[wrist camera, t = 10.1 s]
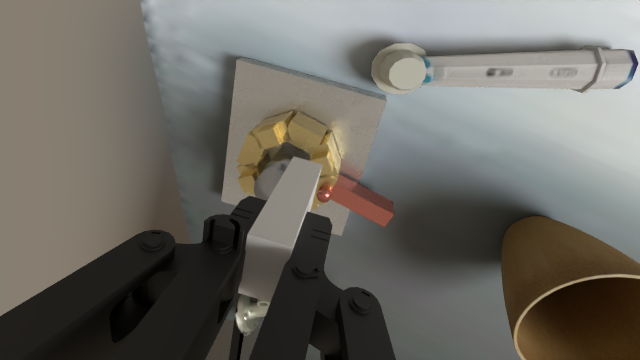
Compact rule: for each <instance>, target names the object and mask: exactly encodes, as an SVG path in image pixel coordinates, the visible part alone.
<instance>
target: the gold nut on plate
mask: <svg viewBox="0 0 640 360" xmlns="http://www.w3.org/2000/svg"><path fill="white" fill-rule="evenodd" d="M386 101H387V100H386V96H384V95H380V94H377V93H373V92H369V91H366V90H362V89H358V88H355V87H351V86H347V85H344V84H340V83H337V82H333V81H329V80H326V79H322V78H318V77H315V76H311V75H308V74H304V73H300V72H297V71H293V70H289V69H286V68H282V67H279V66H275V65H271V64H268V63H264V62H260V61H257V60H253V59H250V58H246V57H243V58H240V59H237V61H236V70H235V80H234V89H233V98H232V108H231V117H230V126H229V136H228V145H227V154H226V164H225V173H224V182H223V192H222V202H226V203H229V204H233V205H236V206H237V205H238V203H239V202H240V201H241V200H242V199H244V198H246V197H248V196H253V197H255V196H256V198H260V199H263V200H267V201H268V199H269V197H270V195H271V194H272V192H273V190H274V189H275V187H276V185H277V184H278V182H279V180H280V179H281V177H282V175H283V174H284V172H285V170H286V168H287V167H288V165H289V163H290V162H291V160H292V158H293V157H298V158H301V159H305V160H308V161H310V159H311V157H310V155H309V153H308V152H306V151H304V150H302V149H300V148H298V147H296V146H294V145H293V144H291V143H289V142H284V143H281V144H280V145H279V146H275V147H272V148H269V149H268V151H267V154H266V155H267V157H268V160H269V163H268V165H267V166H266V167H265V169H264V170H263V171H262V173H261V174H260V175H259V177H258V178H257V180H256V181H255V183H254V195H249V193H245V194H244V192H243V190H242V188H241V186H240V184H239V182H238V180H237V179H238V178H239V176H240V173H239V171H238V169H237V166H238V165H239V164H240V163H238V162H236V161H237V159H238V156H239V154H240V151H241V149H242V146H243V144H244V141H245V139H246V137H247V134H248V133H249V132H250V131H251V130H252V129H253V128H254V127H255V126H257V125H258V124H259V123H260V122H261V121H262V120H264V119H267V118H270V117H274V116H277V115H280V114H284V113H287V112H290V111H293V114H294V116H295V115H296V114H297V113H298V111H299V112H300V113H302V114H304V115H306V116H308V117H310V118H312V119H314V120H315V121H317V122H319V123H321V124H323V125H325V126H327V127H328V128H327V130H326V133H329V132H332V134H333V137H334V140H335V143H336V146H337V149H338V152H339V155H340V158H341V165H340V166H341V168H340V172H339V174H340V175H342V176H344V177H346V178H348V179H350V180H352V181H354V182H356V183H357V184H359V182H360V179H361V176H362V173H363V170H364V167H365V164H366V161H367V158H368V155H369V152H370V149H371V146H372V143H373V140H374V137H375V134H376V131H377V128H378V125H379V122H380V119H381V116H382V113H383V110H384V107H385V104H386ZM326 133H325V134H326ZM310 212H311V213H314V214H318V215H321V216H325V217H328V218H330V221H331V223H332V231H331V233H333V234H336V235H339V236H342V233H343V230H344V227H345V224H346V221H347V218H348V215H349V212H350V209H348V208H346V207H344V206H342V205H340V204H338V203H336V202H334V201H333V200H331V199H330V200H329V201H328V202H326V203H323V205H320V204H319V206H318V209H313V210H310Z"/></svg>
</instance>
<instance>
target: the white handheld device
mask: <svg viewBox="0 0 640 360" xmlns="http://www.w3.org/2000/svg"><path fill="white" fill-rule="evenodd" d="M637 66H638V61H637V58H636V56H635V53H634V50H625V49H602V48H601V47H593V46H584V47H583V48H582V49H581V50H564V51H541V52H518V53H496V54H473V55H450V56H428V55H427V53H426V52H425V50H423V49H421V48H419V47H418V46H416V45H414V44H412V43H394V44H392V45H390V46H388V47H386V48H384V49H382V50H380V51H379V53H378V54H377V56H376V57H375V58H374V60H373V61H372V67H371V76H372V78H373V79H374V81H375V83H376V84H377V86H378V87H379V88H380V89H382V90H384V91H386V92H388V93H390V94H407V93H409V92H411V91H414V90H416V89H418V88H420V87H421V86H459V87H502V88H545V89H571V90H574V91H578V92H581V93H586V92H588V91H589V90H590V89H620V88H621V87H622V86H624V85H625V84H627V83H628V82H630V81H631V80H632V78H633V76H634V73H635V71H636V68H637Z"/></svg>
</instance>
